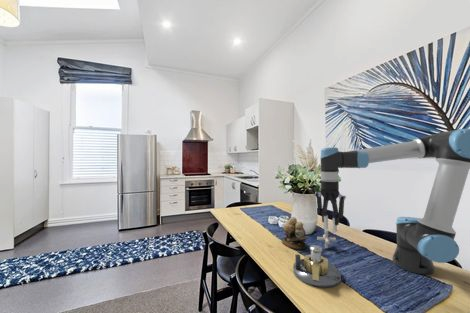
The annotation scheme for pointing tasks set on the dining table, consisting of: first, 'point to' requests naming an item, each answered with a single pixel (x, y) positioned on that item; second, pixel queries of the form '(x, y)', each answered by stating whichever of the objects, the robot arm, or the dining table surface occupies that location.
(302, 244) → the owl figurine
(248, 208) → the dining table surface
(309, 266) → the beige segmented block
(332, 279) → the spigot plate
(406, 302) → the dining table surface
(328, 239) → the pipe connector
